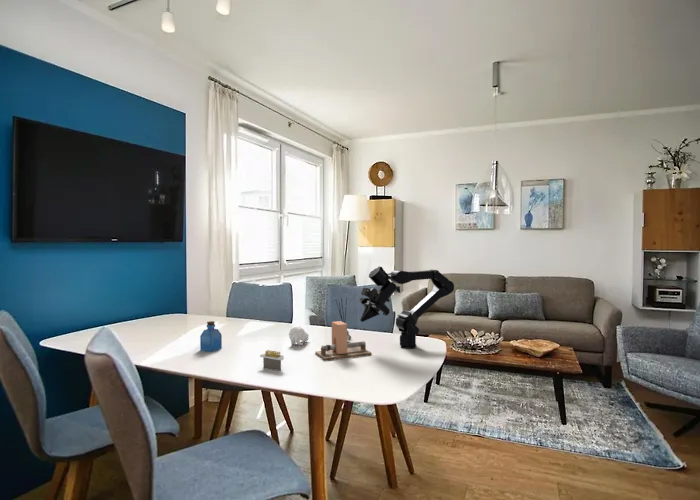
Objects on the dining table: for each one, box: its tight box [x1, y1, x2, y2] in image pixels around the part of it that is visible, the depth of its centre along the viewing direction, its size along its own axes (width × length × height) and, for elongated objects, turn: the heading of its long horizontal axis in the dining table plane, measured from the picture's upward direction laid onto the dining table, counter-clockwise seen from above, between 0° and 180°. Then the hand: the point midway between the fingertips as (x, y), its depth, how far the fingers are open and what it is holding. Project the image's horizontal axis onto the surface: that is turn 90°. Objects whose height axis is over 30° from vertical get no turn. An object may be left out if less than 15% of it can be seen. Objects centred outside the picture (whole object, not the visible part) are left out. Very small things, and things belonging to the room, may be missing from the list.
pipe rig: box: [314, 340, 372, 362], centre depth 174 cm, size 20×11×5 cm, turn 114°
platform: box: [259, 349, 284, 371], centre depth 155 cm, size 12×18×7 cm, turn 62°
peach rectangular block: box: [331, 320, 348, 354], centre depth 173 cm, size 4×7×12 cm, turn 24°
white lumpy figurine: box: [288, 325, 309, 346], centre depth 193 cm, size 6×8×12 cm
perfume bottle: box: [199, 320, 223, 353], centre depth 183 cm, size 6×6×12 cm
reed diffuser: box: [335, 298, 352, 341], centre depth 197 cm, size 10×7×20 cm
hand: (361, 321), depth 177 cm, fingers closed
